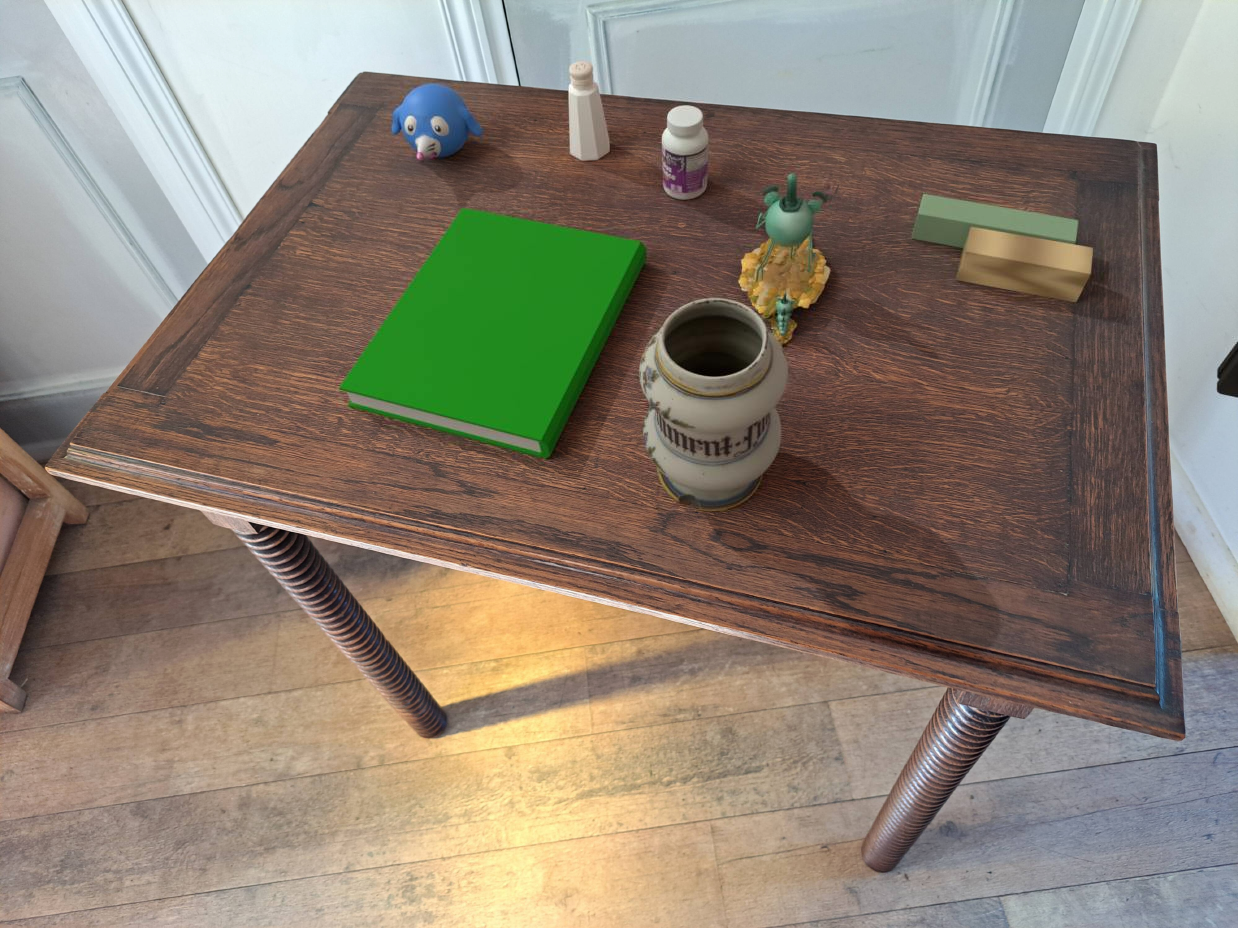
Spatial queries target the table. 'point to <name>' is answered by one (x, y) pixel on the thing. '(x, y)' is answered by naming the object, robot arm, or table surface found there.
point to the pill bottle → (685, 153)
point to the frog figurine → (785, 260)
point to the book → (498, 331)
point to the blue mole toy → (434, 121)
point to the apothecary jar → (712, 402)
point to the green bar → (985, 222)
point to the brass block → (1025, 264)
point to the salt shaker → (586, 115)
